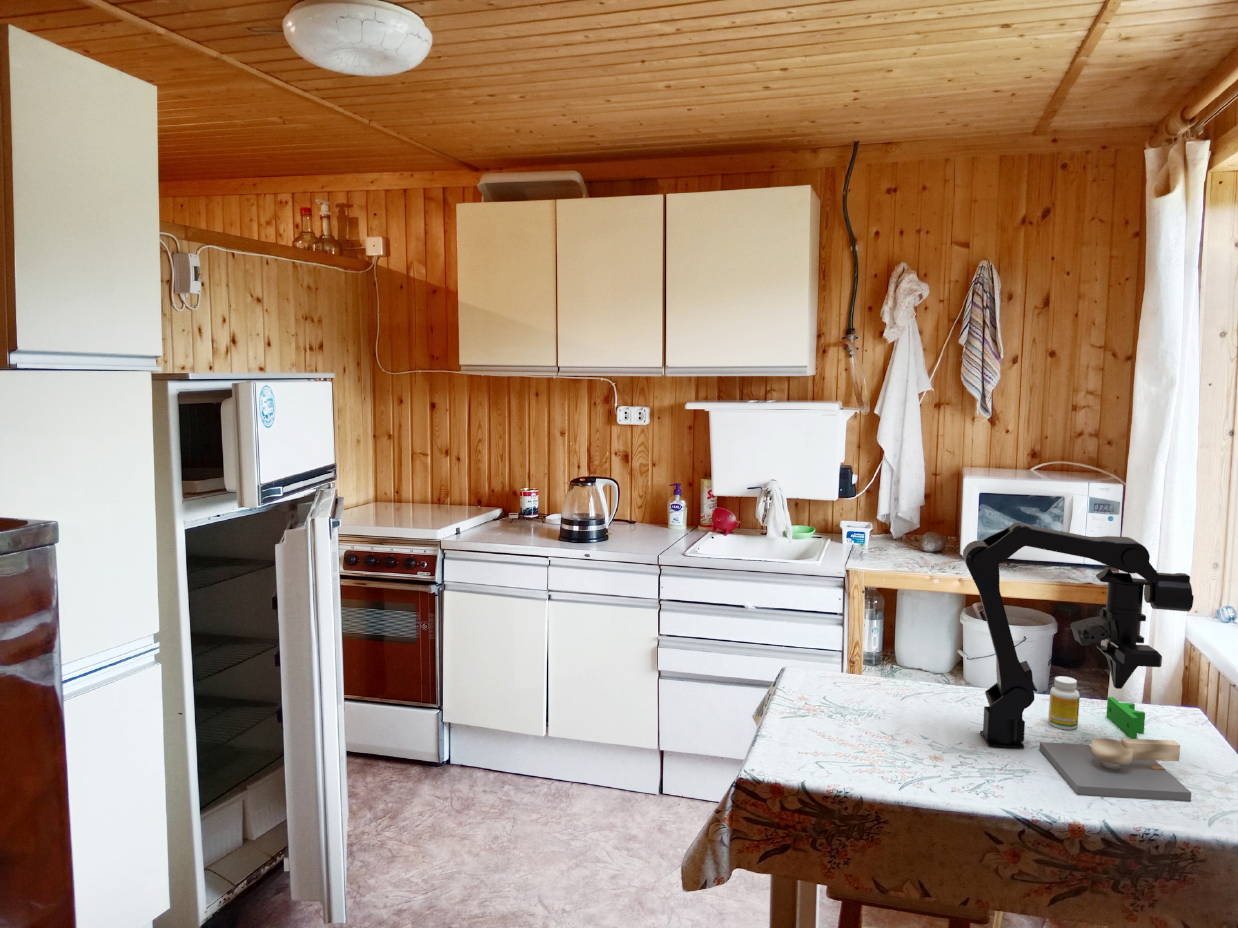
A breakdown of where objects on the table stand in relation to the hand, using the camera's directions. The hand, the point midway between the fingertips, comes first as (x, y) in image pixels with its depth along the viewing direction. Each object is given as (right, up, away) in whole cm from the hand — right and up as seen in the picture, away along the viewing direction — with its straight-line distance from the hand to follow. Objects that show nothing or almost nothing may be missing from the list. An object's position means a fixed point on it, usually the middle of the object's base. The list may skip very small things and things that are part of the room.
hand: (1117, 687), depth 163 cm
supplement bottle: (-3, -12, +15) cm, 19 cm away
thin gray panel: (-5, -14, -7) cm, 16 cm away
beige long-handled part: (-1, -10, -7) cm, 13 cm away
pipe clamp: (+10, -12, +13) cm, 20 cm away
